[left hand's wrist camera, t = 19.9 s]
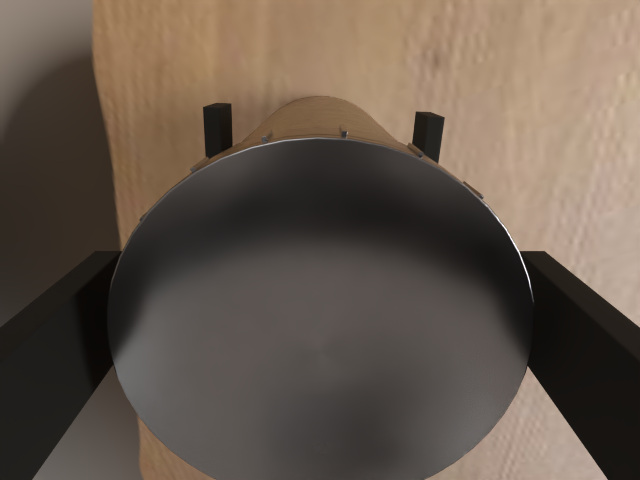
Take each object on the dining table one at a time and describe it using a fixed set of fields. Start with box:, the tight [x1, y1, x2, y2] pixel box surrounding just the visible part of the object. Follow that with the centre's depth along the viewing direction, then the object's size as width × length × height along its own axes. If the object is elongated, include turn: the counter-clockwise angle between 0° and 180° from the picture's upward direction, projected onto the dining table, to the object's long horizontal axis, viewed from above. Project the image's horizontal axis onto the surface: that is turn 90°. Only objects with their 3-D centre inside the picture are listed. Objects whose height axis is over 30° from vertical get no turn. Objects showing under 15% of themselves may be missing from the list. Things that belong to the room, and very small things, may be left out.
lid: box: [107, 124, 535, 480], centre depth 11 cm, size 10×10×2 cm
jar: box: [243, 96, 398, 142], centre depth 20 cm, size 9×9×19 cm
